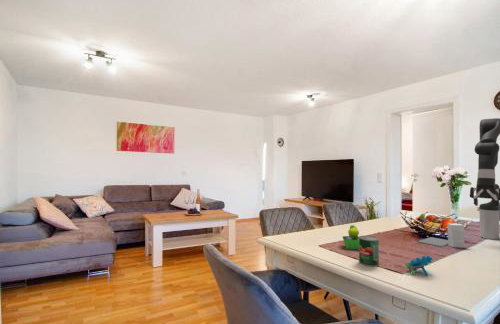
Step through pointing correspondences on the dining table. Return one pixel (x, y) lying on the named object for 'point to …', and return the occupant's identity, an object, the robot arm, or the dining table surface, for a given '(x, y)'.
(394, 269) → the dining table surface
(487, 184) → the robot arm
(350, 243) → the fruit basket
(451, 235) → the skincare box
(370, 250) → the canned tomato
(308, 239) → the dining table surface
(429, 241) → the mat
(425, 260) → the toy dinosaur
